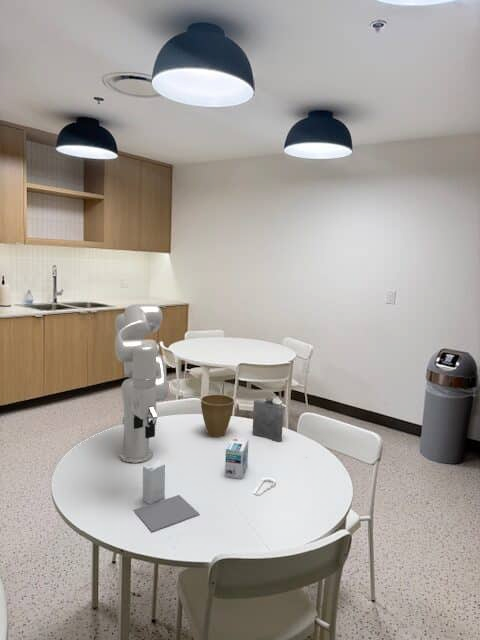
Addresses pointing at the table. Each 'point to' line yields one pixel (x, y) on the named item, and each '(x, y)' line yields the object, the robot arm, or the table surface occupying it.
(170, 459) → the table surface
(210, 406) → the plant pot
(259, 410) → the flask
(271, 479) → the stepped key frame
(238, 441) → the light bulb box
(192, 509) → the mat
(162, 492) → the skincare box
